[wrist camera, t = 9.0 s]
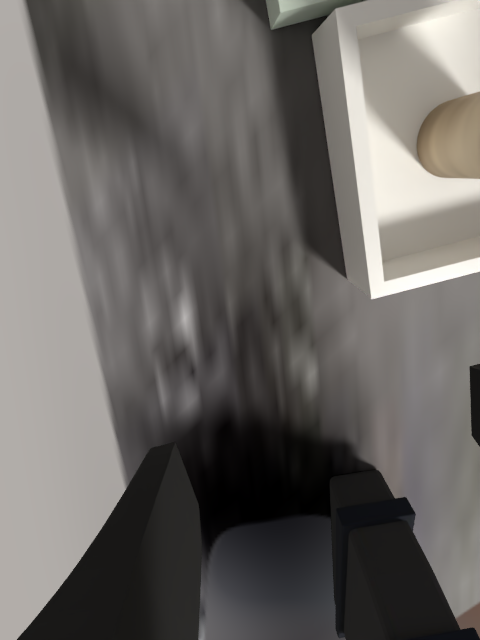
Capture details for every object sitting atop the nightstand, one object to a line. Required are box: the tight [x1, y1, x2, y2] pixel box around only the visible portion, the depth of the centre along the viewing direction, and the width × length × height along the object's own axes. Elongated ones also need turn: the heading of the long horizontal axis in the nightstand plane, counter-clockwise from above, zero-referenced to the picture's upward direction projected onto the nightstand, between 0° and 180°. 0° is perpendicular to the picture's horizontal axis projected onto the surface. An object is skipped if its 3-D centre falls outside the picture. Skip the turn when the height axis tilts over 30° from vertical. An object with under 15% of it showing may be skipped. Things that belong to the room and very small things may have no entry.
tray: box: [312, 0, 480, 299], centre depth 16 cm, size 10×10×3 cm
